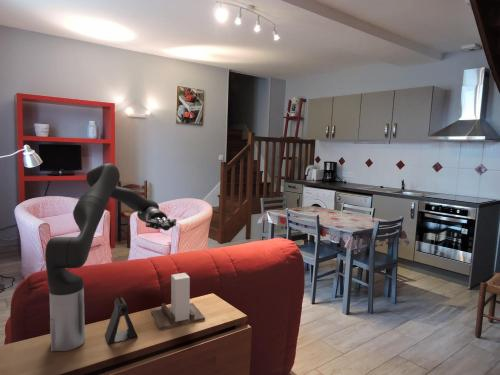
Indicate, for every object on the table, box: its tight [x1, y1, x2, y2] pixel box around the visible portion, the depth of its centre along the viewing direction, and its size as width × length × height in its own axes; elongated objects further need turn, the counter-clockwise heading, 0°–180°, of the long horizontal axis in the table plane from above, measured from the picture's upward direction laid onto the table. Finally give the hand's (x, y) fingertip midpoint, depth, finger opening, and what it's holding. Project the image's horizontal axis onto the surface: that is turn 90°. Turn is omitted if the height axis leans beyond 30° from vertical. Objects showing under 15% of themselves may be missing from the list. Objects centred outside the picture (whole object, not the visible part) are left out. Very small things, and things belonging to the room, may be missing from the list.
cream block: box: [170, 272, 191, 322], centre depth 124 cm, size 5×5×15 cm
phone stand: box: [104, 296, 138, 346], centre depth 113 cm, size 9×6×12 cm, turn 120°
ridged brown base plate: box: [150, 302, 206, 331], centre depth 127 cm, size 16×13×3 cm
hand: (166, 227), depth 136 cm, fingers closed
